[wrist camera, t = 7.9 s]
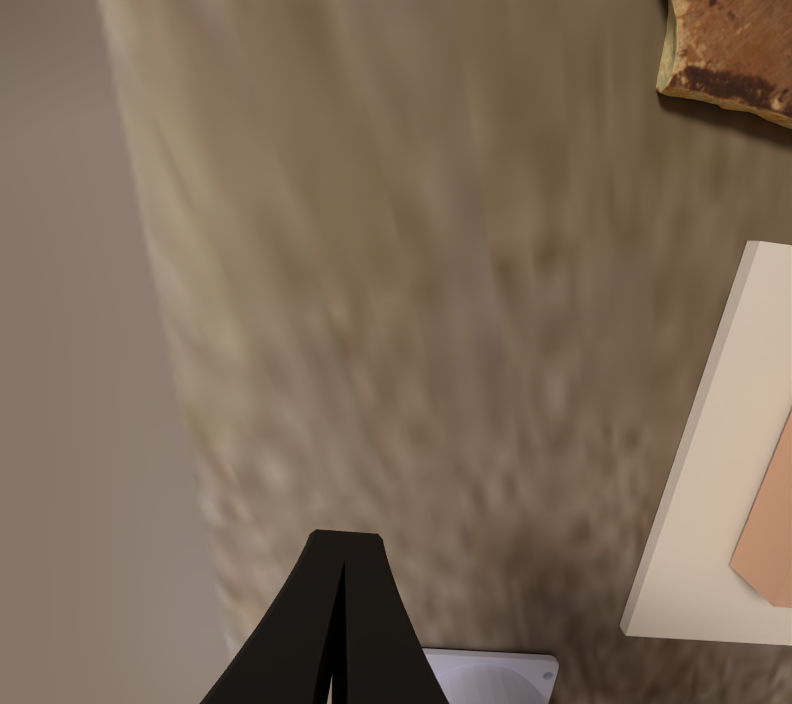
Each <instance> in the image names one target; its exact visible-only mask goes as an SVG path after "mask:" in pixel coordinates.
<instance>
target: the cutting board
mask: <svg viewBox="0 0 792 704" xmlns="http://www.w3.org/2000/svg"><path fill="white" fill-rule="evenodd" d="M791 411H792V245H785V244H777V243H770V242H762V241H747V244H746V247H745V250H744V253H743V256H742V259H741V262H740V265H739V268H738V271H737V274H736V277H735V280H734V283H733V286H732V289H731V292H730V295H729V298H728V301H727V304H726V307H725V310H724V313H723V316H722V319H721V322H720V325H719V328H718V331H717V334H716V337H715V340H714V343H713V346H712V349H711V352H710V355H709V358H708V361H707V364H706V367H705V370H704V373H703V376H702V379H701V382H700V385H699V388H698V391H697V394H696V397H695V400H694V403H693V406H692V409H691V412H690V415H689V418H688V421H687V424H686V427H685V430H684V433H683V436H682V439H681V442H680V445H679V448H678V451H677V454H676V457H675V460H674V463H673V466H672V469H671V472H670V475H669V478H668V481H667V484H666V487H665V490H664V493H663V496H662V499H661V502H660V505H659V508H658V511H657V514H656V517H655V520H654V523H653V526H652V529H651V532H650V535H649V538H648V541H647V544H646V547H645V550H644V553H643V556H642V559H641V562H640V565H639V568H638V571H637V574H636V577H635V580H634V583H633V586H632V589H631V592H630V595H629V598H628V601H627V604H626V607H625V610H624V613H623V616H622V619H621V622H620V625H619V626H620V627H621V629H622V631H623V632H624V634H625V636H639V637H657V638H674V639H691V640H708V641H725V642H743V643H760V644H777V645H792V608H786V607H773V606H772V605H771V604H770V603H769V602H768V601H767V600H766V599H765V598H764V597H763V596H761V595H760V594H759V593H758V592H757V591H756V590H755V589H754V588H753V587H752V586H751V585H750V584H749V583H748V582H747V581H746V580H745V579H744V578H743V577H741V576H740V575H739V574H738V573H737V572H736V571H735V570H734V569H733V568H732V567H731V566H730V563H731V560H732V558H733V555H734V553H735V550H736V548H737V545H738V543H739V540H740V538H741V535H742V533H743V530H744V528H745V526H746V523H747V521H748V518H749V516H750V513H751V511H752V508H753V506H754V503H755V501H756V498H757V496H758V493H759V491H760V488H761V486H762V483H763V481H764V478H765V476H766V473H767V471H768V468H769V466H770V463H771V461H772V458H773V456H774V453H775V451H776V448H777V446H778V443H779V441H780V438H781V436H782V433H783V431H784V428H785V426H786V423H787V421H788V419H789V416H790V414H791Z"/></svg>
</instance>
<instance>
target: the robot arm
mask: <svg viewBox="0 0 792 704" xmlns="http://www.w3.org/2000/svg"><path fill="white" fill-rule="evenodd" d="M558 669H559V665H558V662H557V660H556V658H555V657H554V656H551V655H539V654H520V653H501V652H483V651H464V650H446V649H427V648H422V647H421V645H420V643H419V640H418V638H417V636H416V634H415V631H414V629H413V626H412V624H411V622H410V619H409V617H408V615H407V612H406V610H405V608H404V605H403V603H402V600H401V597H400V595H399V592H398V589H397V587H396V584H395V581H394V578H393V575H392V572H391V569H390V566H389V563H388V559H387V556H386V552H385V548H384V544H383V539H382V538H381V537H380V536H379V534H372V533H359V532H345V531H332V530H318V529H316V530H315V531H313V532H312V533H311V534H310V535H309V538H308V540H307V543H306V545H305V547H304V549H303V551H302V553H301V555H300V557H299V559H298V561H297V563H296V565H295V566H294V568H293V570H292V572H291V573H290V575H289V577H288V579H287V580H286V582H285V584H284V585H283V587H282V589H281V590H280V592H279V593H278V595H277V596H276V598H275V599H274V601H273V603H272V604H271V606H270V607H269V609H268V610H267V612H266V614H265V615H264V617H263V618H262V620H261V621H260V623H259V624H258V626H257V627H256V629H255V630H254V631H253V633H252V634H251V635H250V637H249V638H248V640H247V641H246V642H245V644H244V645H243V647H242V648H241V649H240V651H239V652H238V654H237V655H236V656H235V658H234V659H233V660H232V662H231V663H230V665H229V666H228V667H227V669H226V670H225V671H224V673H223V674H222V675H221V677H220V678H219V679H218V681H217V682H216V683H215V685H214V686H213V687H212V688H211V690H210V691H209V692H208V694H207V695H206V696H205V697H204V699H203V700H202V701H201V702H200V704H327V700H328V694H329V689H330V683H331V678H332V704H548V703H549V700H550V697H551V693H552V690H553V686H554V683H555V680H556V676H557V673H558Z"/></svg>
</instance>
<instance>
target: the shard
mask: <svg viewBox="0 0 792 704" xmlns="http://www.w3.org/2000/svg"><path fill="white" fill-rule="evenodd" d="M656 91H657V92H659V93H662V94H664V95H667V96H673V97H682V98H686V99H694V100H700V101H705V102H708V103H712V104H717V105H719V106H720V107H721V108H722V109H728V110H737V111H747V112H750V113H754V114H756V115H758V116H760V117H762V118H763V119H765V120H767V121H770V122H773V123H776V124H779V125H781V126H784V127H786V128H790V129H792V0H668V19H667V35H666V38H665V43H664V48H663V53H662V59H661V62H660V68H659V74H658V78H657V85H656Z"/></svg>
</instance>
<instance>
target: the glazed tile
mask: <svg viewBox="0 0 792 704" xmlns="http://www.w3.org/2000/svg"><path fill="white" fill-rule="evenodd" d="M730 566H731V567H732V568H733V569H734V570H735V571H736V572H737V573H738V574H739V575H740V576H741V577H743V578H744V579H745V580H746V581H747V582H748V583H749V584H750V585H751V586H752V587H753V588H754V589H755V590H756V591H757V592H758V593H759V594H760V595H761V596H763V597H764V598H765V599H766V600H767V601H768V602H769V603H770V604H771V605H772V606H773V607H786V608H792V411H791V414H790V416H789V419H788V421H787V423H786V426H785V428H784V431H783V433H782V436H781V438H780V441H779V443H778V446H777V448H776V451H775V453H774V456H773V458H772V461H771V463H770V466H769V468H768V471H767V473H766V476H765V478H764V481H763V483H762V486H761V488H760V491H759V493H758V496H757V498H756V501H755V503H754V506H753V508H752V511H751V513H750V516H749V518H748V521H747V523H746V526H745V528H744V530H743V533H742V535H741V538H740V540H739V543H738V545H737V548H736V550H735V553H734V555H733V558H732V560H731V563H730Z"/></svg>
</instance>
